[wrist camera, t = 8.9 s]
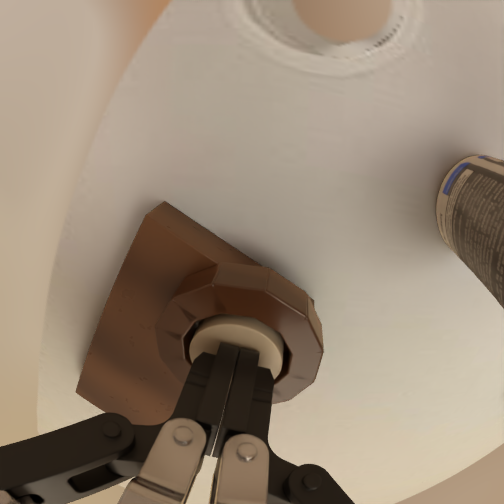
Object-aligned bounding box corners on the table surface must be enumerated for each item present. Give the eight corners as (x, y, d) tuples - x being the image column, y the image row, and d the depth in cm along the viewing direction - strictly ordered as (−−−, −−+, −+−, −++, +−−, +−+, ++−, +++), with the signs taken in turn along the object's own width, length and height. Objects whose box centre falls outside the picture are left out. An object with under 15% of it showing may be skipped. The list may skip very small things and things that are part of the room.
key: (226, 283, 12) (217, 307, 10) (302, 330, 12) (302, 357, 11) (185, 337, 13) (174, 361, 12) (253, 375, 14) (248, 401, 12)
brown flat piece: (175, 180, 12) (137, 204, 9) (346, 296, 14) (357, 347, 10) (86, 375, 20) (65, 407, 16) (187, 434, 21) (175, 470, 18)
